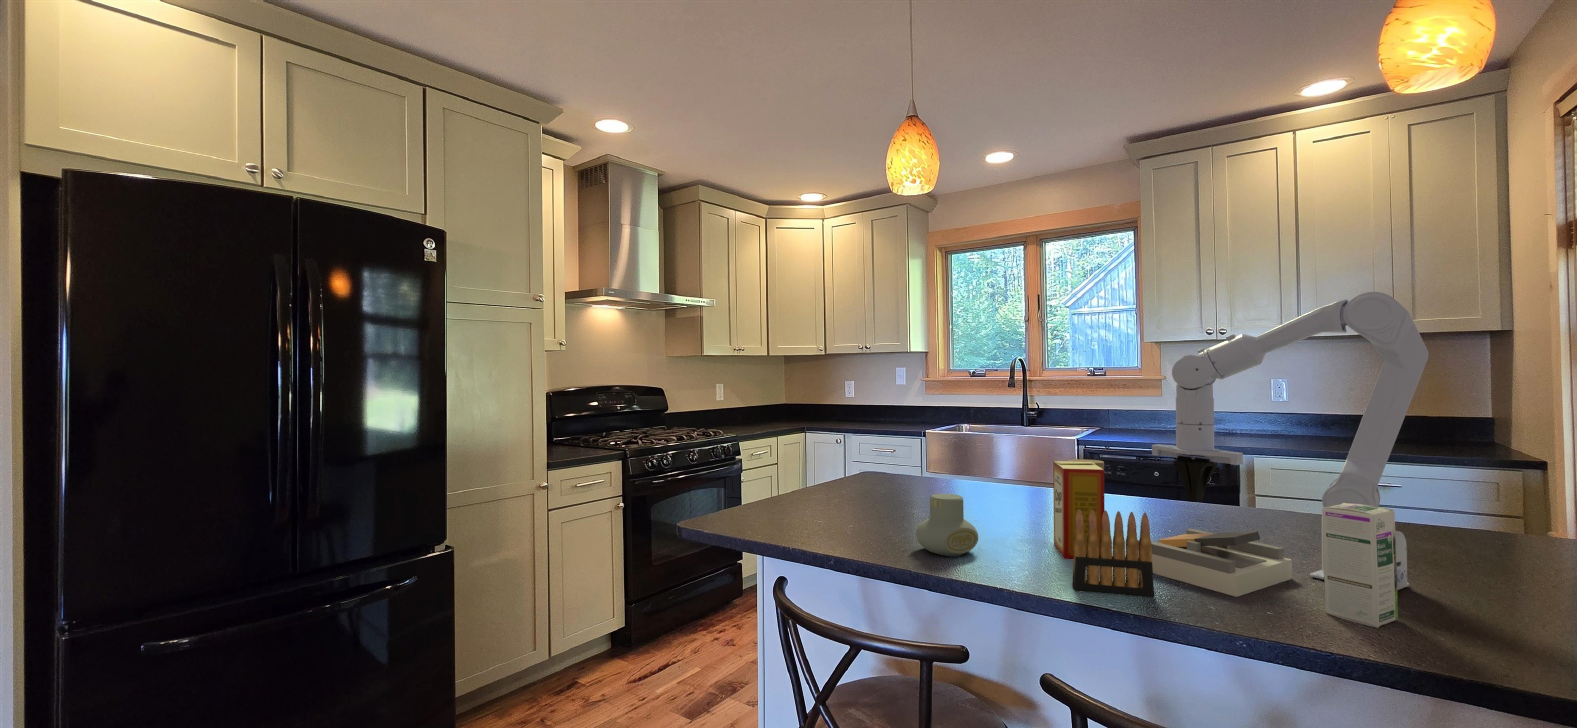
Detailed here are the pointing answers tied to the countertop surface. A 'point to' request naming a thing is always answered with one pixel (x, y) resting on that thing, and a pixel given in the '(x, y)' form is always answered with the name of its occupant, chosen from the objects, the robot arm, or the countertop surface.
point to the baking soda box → (1076, 501)
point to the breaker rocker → (1212, 539)
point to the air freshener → (947, 527)
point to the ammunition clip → (1113, 557)
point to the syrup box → (1360, 563)
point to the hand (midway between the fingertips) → (1195, 500)
